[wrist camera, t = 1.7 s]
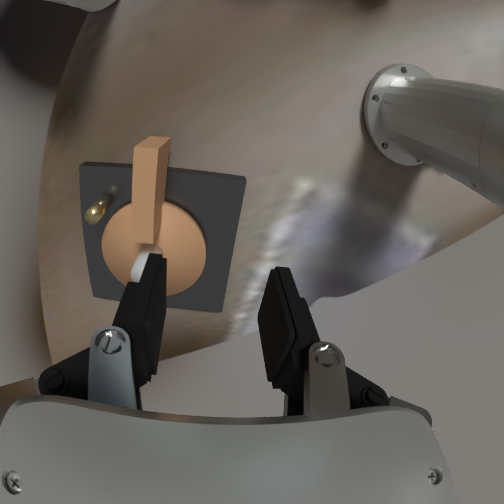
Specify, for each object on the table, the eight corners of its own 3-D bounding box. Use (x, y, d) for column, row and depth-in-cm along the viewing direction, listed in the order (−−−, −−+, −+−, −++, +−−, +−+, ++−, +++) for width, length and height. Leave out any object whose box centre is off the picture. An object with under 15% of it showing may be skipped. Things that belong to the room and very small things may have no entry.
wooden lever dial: (222, 143, 25) (222, 155, 20) (201, 294, 34) (199, 327, 30) (103, 134, 23) (79, 145, 18) (109, 283, 32) (96, 313, 28)
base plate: (245, 176, 29) (250, 194, 24) (221, 304, 38) (222, 334, 33) (85, 161, 25) (61, 177, 21) (96, 289, 35) (84, 316, 30)
